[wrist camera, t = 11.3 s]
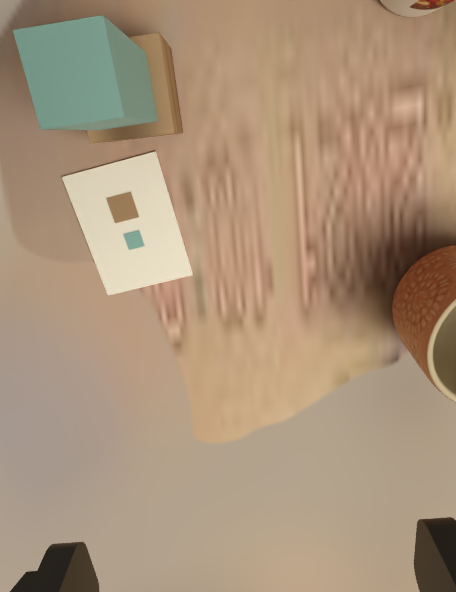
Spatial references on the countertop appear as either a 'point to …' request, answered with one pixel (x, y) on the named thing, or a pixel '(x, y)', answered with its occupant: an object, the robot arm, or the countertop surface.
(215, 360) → the countertop surface
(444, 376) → the planter
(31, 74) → the teal brick
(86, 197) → the page
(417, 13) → the milk bottle
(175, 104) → the tower base
